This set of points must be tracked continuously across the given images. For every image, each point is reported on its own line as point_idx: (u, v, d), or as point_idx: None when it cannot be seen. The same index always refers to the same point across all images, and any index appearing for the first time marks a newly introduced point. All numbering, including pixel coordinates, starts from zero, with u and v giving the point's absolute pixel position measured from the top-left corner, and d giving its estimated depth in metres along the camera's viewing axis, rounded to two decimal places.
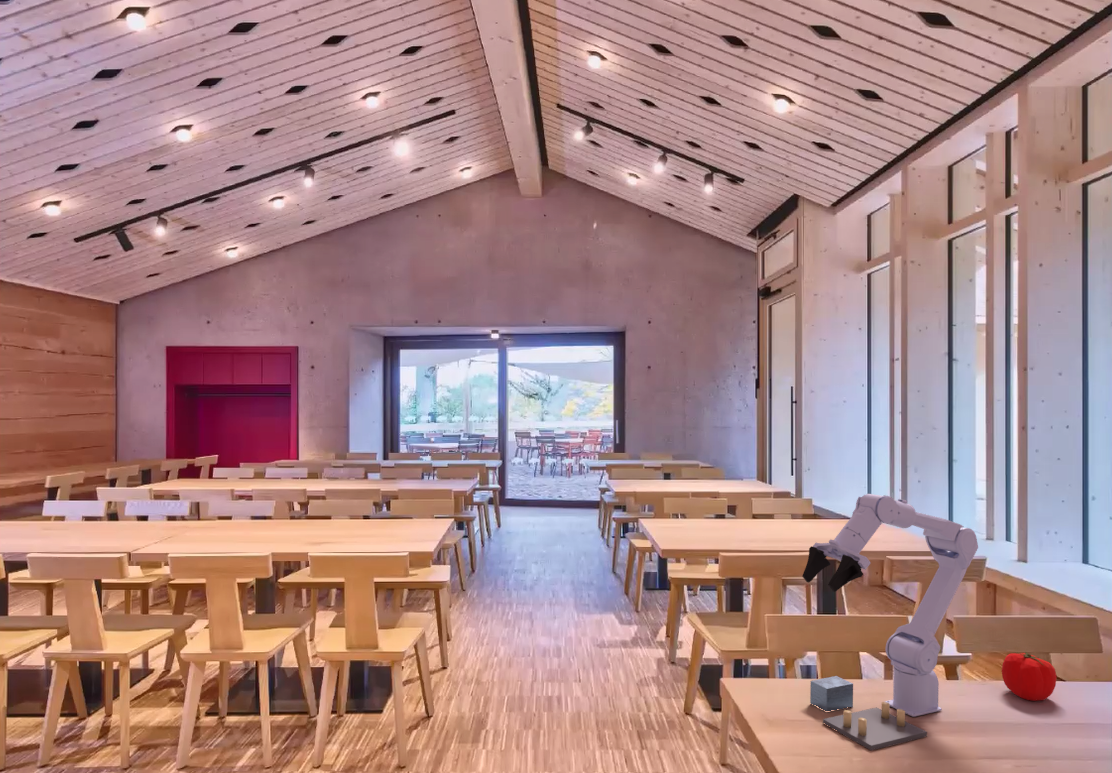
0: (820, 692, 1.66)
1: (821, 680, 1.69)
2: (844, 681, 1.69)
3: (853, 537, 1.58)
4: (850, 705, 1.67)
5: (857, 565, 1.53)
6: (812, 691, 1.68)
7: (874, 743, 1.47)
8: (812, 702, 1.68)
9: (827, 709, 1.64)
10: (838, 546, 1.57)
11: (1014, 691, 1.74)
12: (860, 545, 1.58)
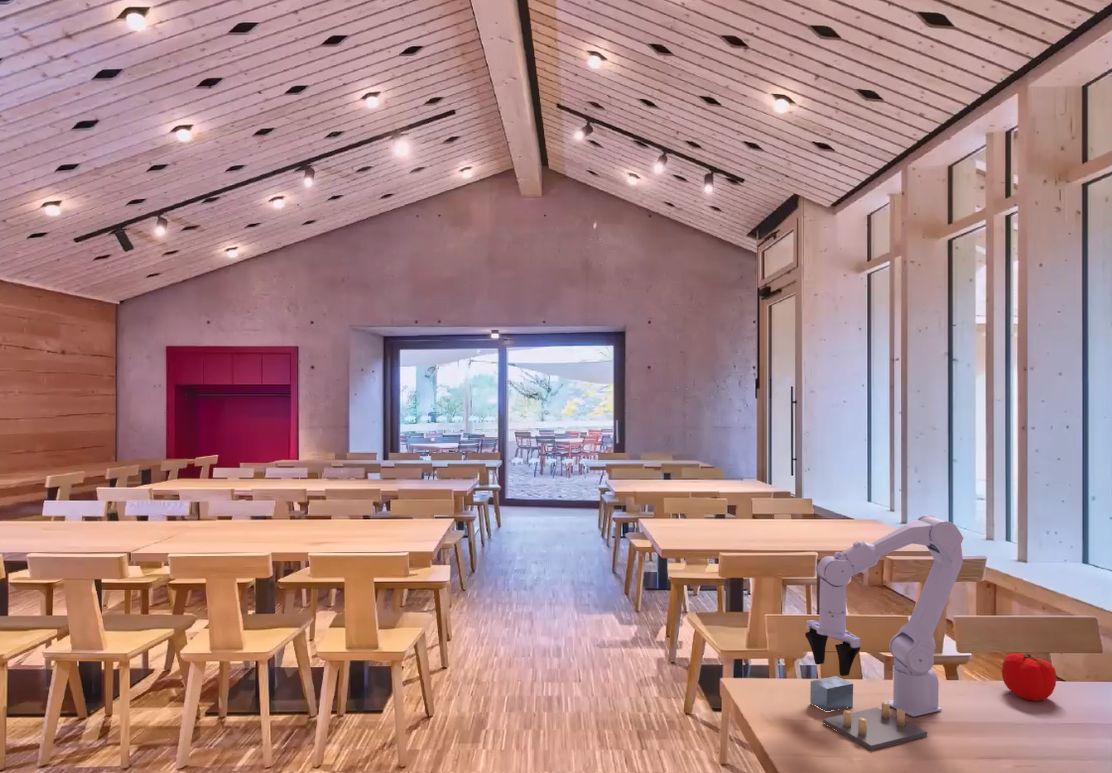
0: (820, 692, 1.66)
1: (821, 680, 1.69)
2: (844, 681, 1.69)
3: (833, 618, 1.65)
4: (850, 705, 1.67)
5: (851, 647, 1.62)
6: (812, 691, 1.68)
7: (874, 743, 1.47)
8: (812, 702, 1.68)
9: (827, 709, 1.64)
10: (826, 634, 1.66)
11: (1014, 691, 1.74)
12: (842, 619, 1.66)
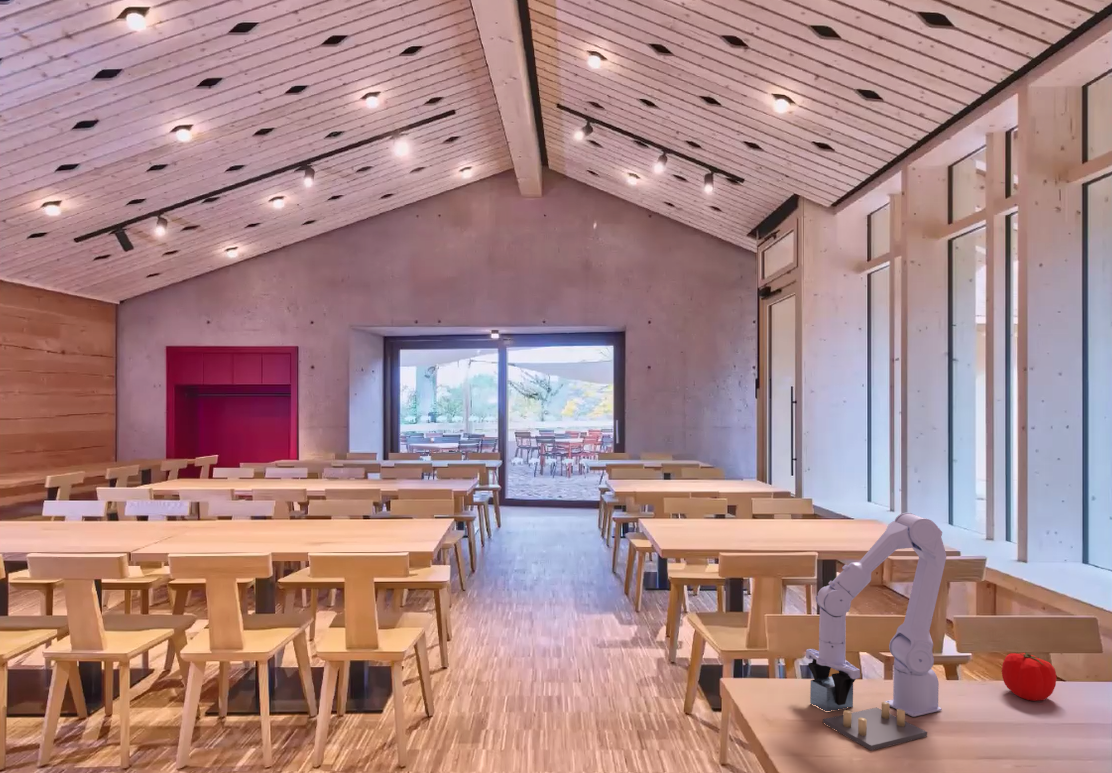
0: (820, 692, 1.66)
1: (821, 679, 1.69)
2: None
3: (832, 649, 1.65)
4: (850, 704, 1.67)
5: (848, 677, 1.63)
6: (812, 690, 1.68)
7: (874, 743, 1.47)
8: (812, 701, 1.68)
9: (827, 708, 1.64)
10: (826, 665, 1.66)
11: (1014, 691, 1.74)
12: (842, 649, 1.65)
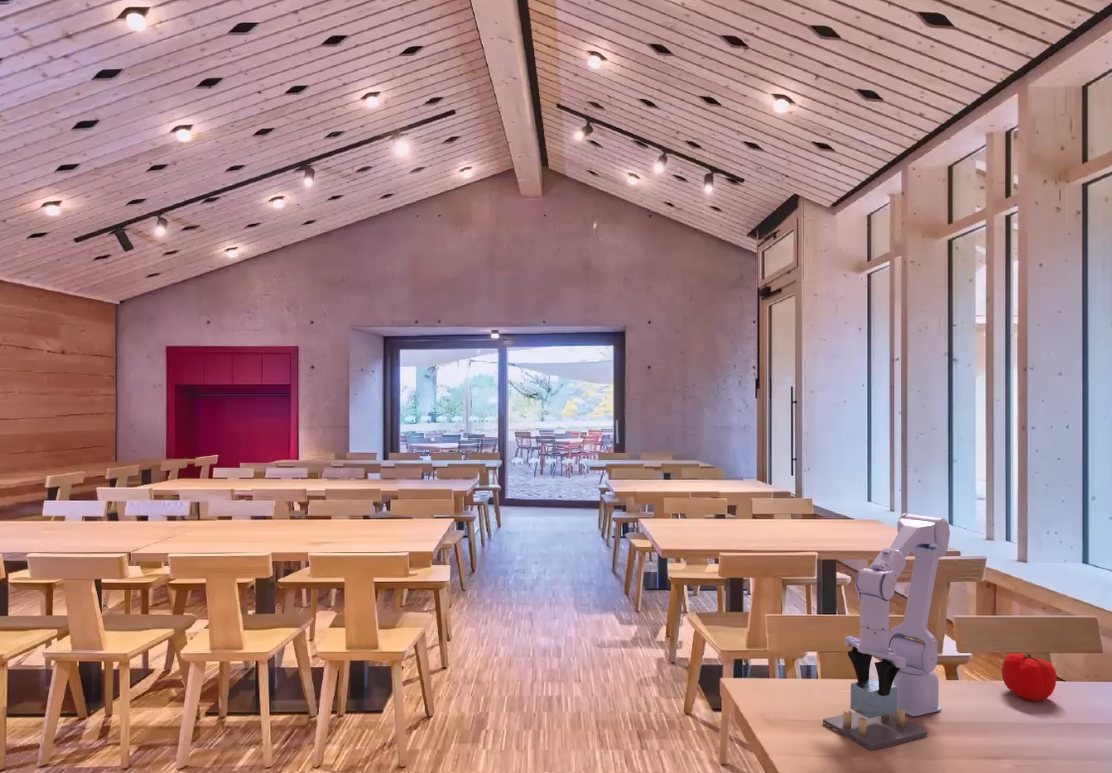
0: (862, 696, 1.54)
1: (862, 682, 1.57)
2: None
3: (875, 635, 1.53)
4: (894, 709, 1.55)
5: (892, 666, 1.51)
6: (853, 694, 1.56)
7: (874, 743, 1.47)
8: (853, 706, 1.56)
9: (870, 714, 1.52)
10: (868, 653, 1.54)
11: (1014, 691, 1.74)
12: (885, 636, 1.54)
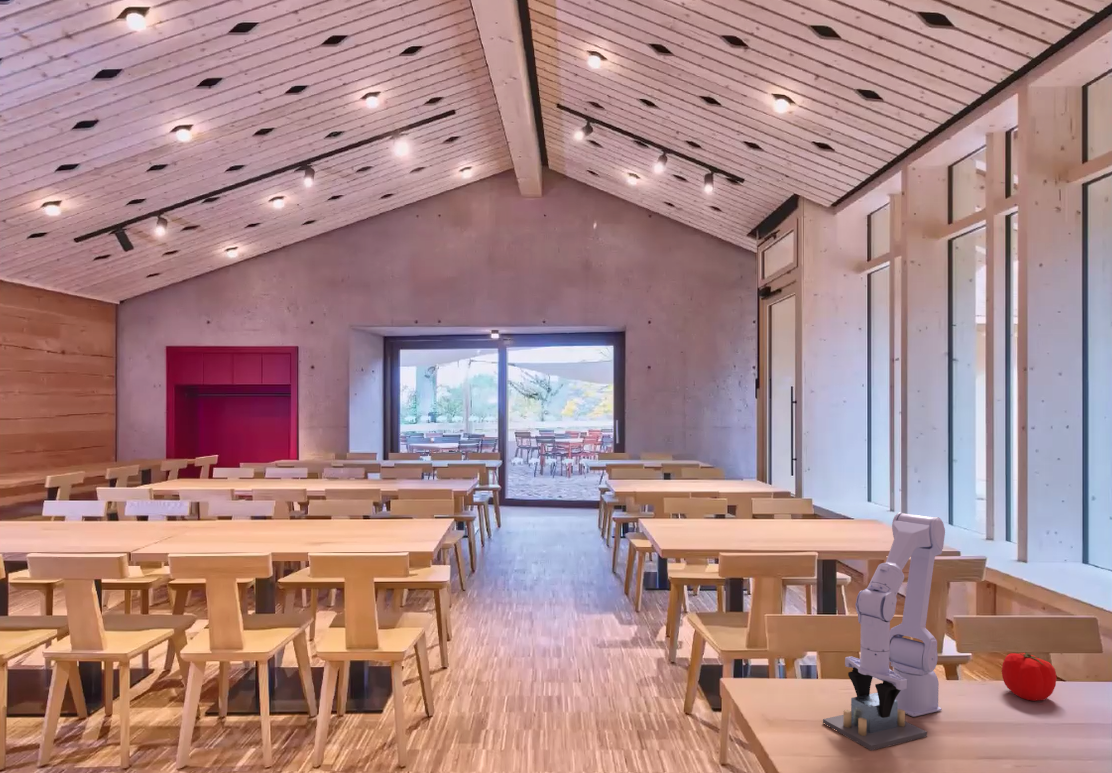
0: (862, 711, 1.53)
1: (863, 697, 1.57)
2: None
3: (876, 657, 1.53)
4: (894, 724, 1.55)
5: (893, 687, 1.51)
6: (853, 709, 1.56)
7: (874, 743, 1.47)
8: (853, 721, 1.56)
9: (870, 729, 1.52)
10: (869, 674, 1.53)
11: (1014, 691, 1.74)
12: (886, 658, 1.53)
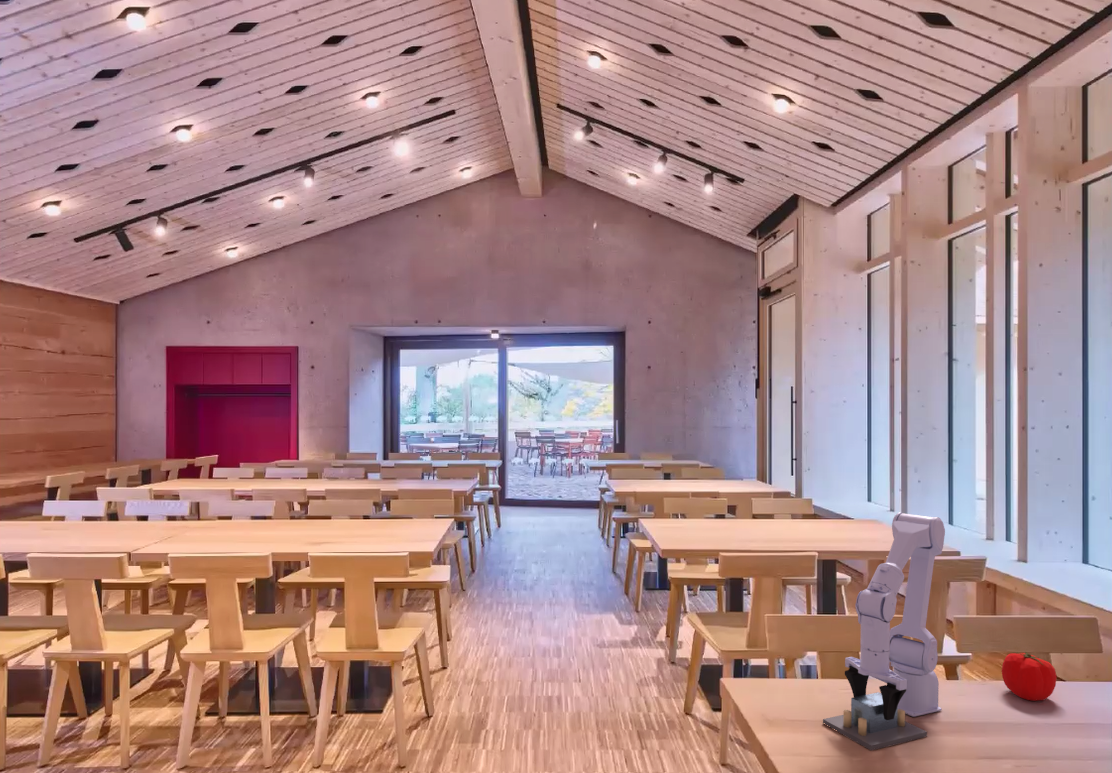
0: (862, 711, 1.53)
1: (863, 697, 1.57)
2: None
3: (876, 657, 1.53)
4: (894, 724, 1.55)
5: (897, 690, 1.50)
6: (853, 709, 1.56)
7: (874, 743, 1.47)
8: (853, 721, 1.56)
9: (870, 729, 1.52)
10: (869, 674, 1.53)
11: (1014, 691, 1.74)
12: (886, 658, 1.53)
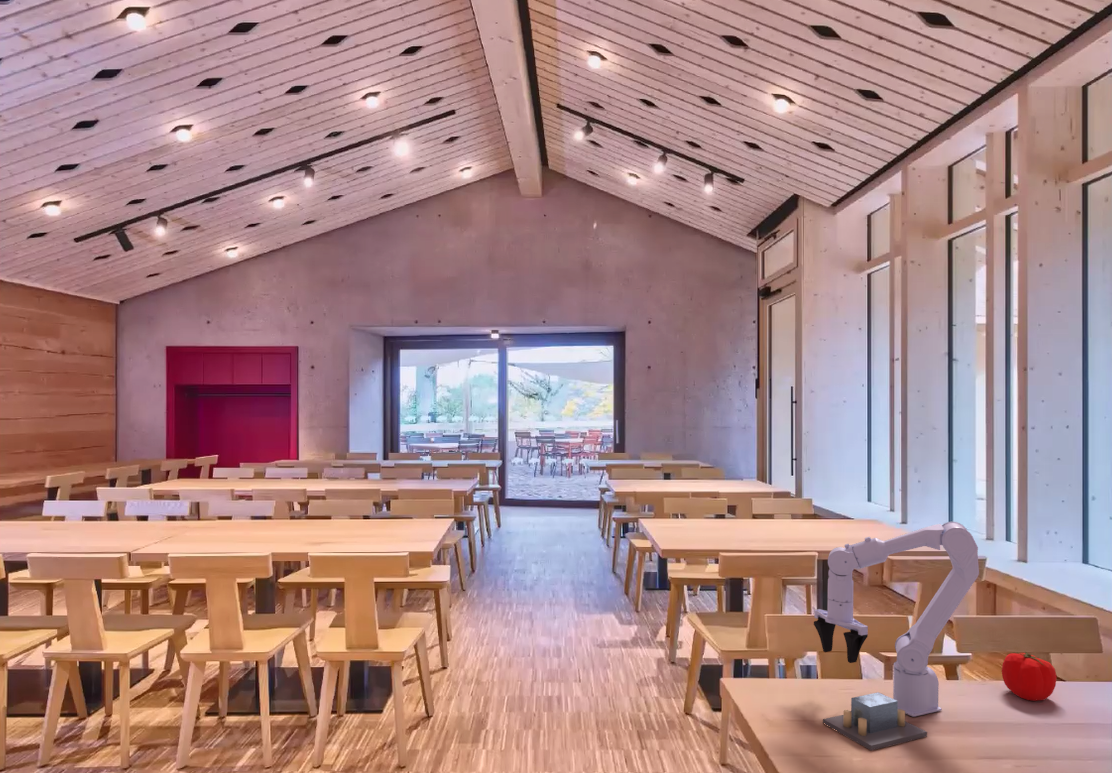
0: (862, 711, 1.53)
1: (863, 697, 1.57)
2: (887, 698, 1.56)
3: (841, 607, 1.71)
4: (894, 724, 1.55)
5: (859, 635, 1.67)
6: (853, 709, 1.56)
7: (874, 743, 1.47)
8: (853, 721, 1.56)
9: (870, 729, 1.52)
10: (835, 622, 1.71)
11: (1014, 691, 1.74)
12: (850, 608, 1.71)
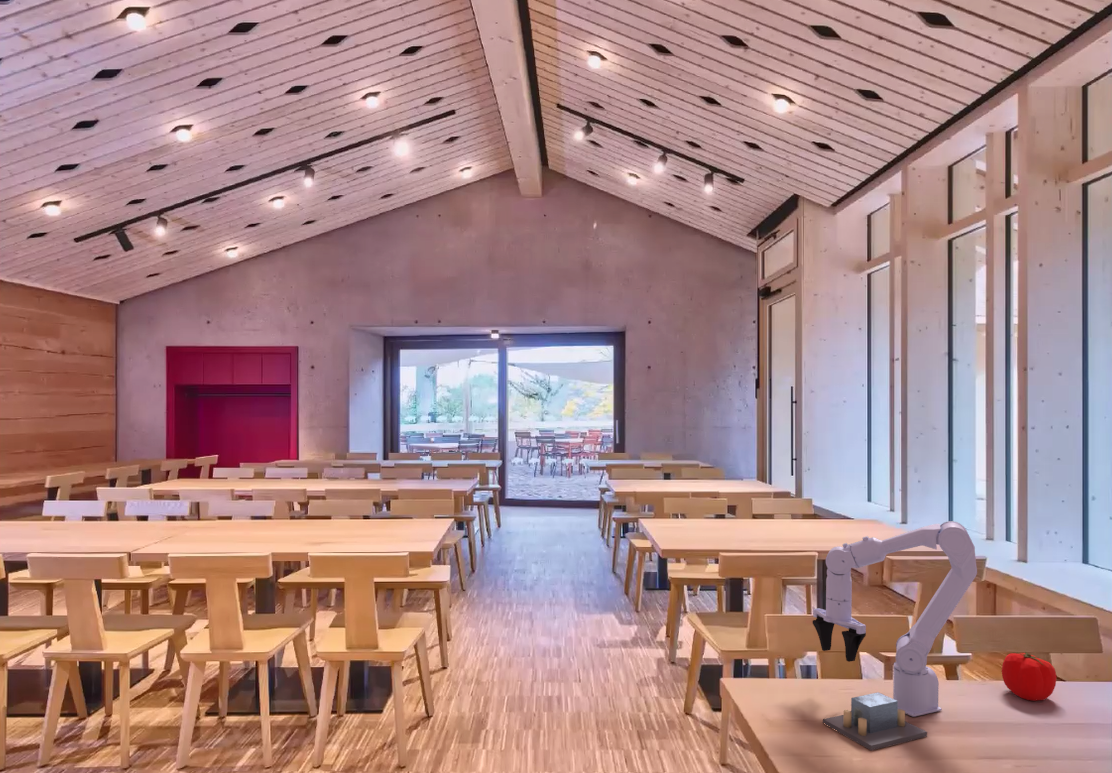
0: (862, 711, 1.53)
1: (863, 697, 1.57)
2: (887, 698, 1.56)
3: (839, 606, 1.72)
4: (894, 724, 1.55)
5: (857, 634, 1.68)
6: (853, 709, 1.56)
7: (874, 743, 1.47)
8: (853, 721, 1.56)
9: (870, 729, 1.52)
10: (833, 621, 1.72)
11: (1014, 691, 1.74)
12: (848, 607, 1.72)
